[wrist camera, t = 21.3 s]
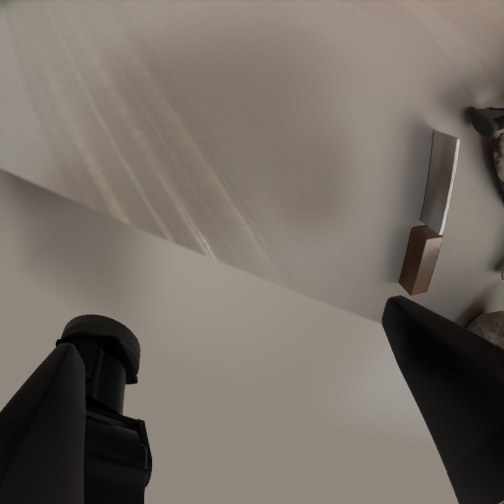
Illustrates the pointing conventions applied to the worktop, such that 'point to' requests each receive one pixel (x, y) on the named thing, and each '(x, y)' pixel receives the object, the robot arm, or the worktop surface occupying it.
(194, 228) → the worktop surface
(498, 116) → the knife
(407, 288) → the cake knife
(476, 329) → the rock
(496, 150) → the bird model
